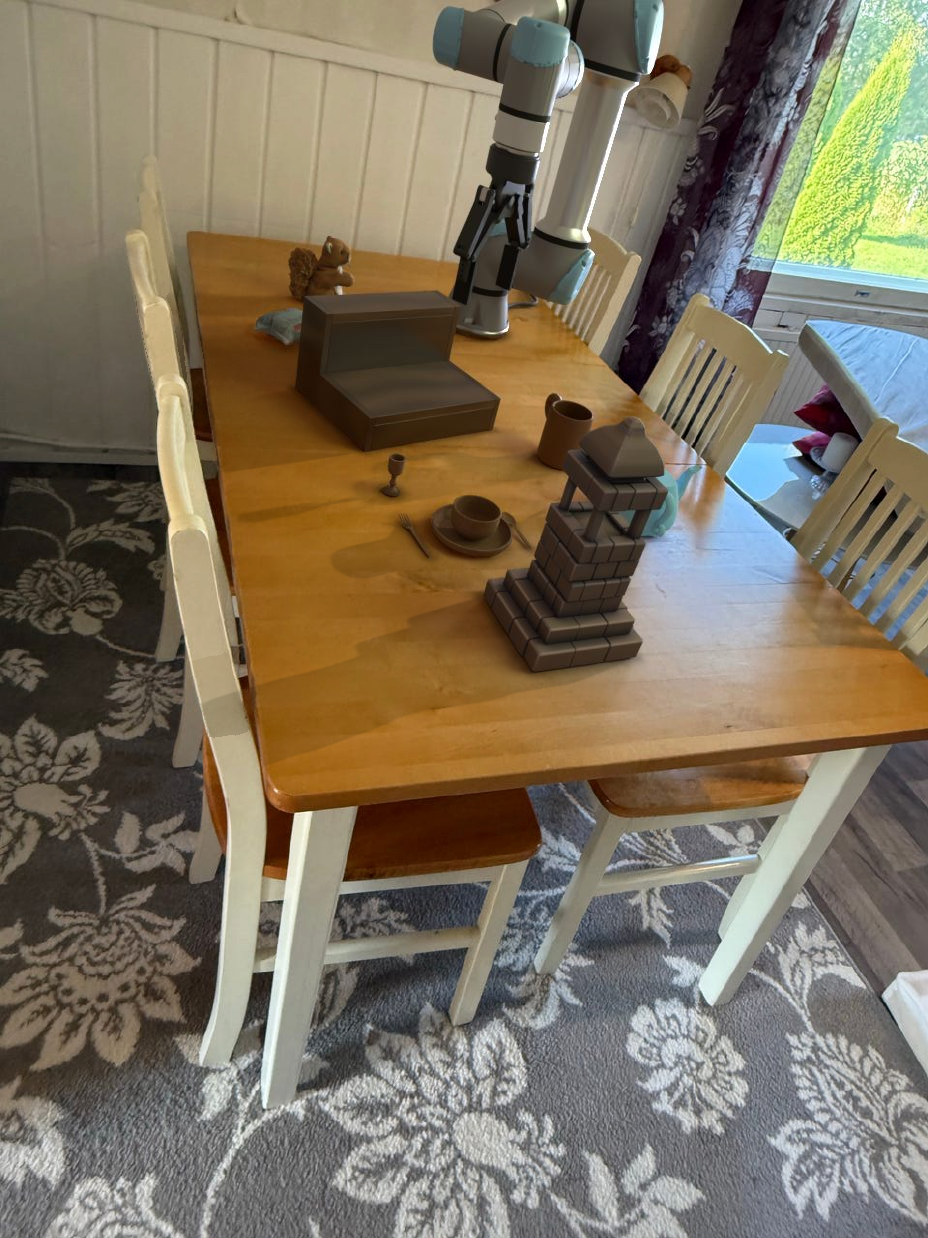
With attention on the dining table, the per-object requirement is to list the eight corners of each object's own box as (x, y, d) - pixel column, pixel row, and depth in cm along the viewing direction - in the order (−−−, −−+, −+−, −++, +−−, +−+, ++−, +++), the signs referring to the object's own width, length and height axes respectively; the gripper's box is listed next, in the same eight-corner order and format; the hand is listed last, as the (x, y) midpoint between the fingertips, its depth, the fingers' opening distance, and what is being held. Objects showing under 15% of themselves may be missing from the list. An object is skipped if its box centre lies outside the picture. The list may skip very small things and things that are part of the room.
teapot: (579, 525, 133) (601, 464, 125) (609, 487, 143) (631, 429, 136) (654, 560, 130) (681, 499, 123) (678, 518, 140) (705, 460, 133)
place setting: (432, 568, 115) (441, 532, 111) (375, 487, 127) (381, 453, 124) (539, 554, 123) (551, 520, 120) (476, 479, 136) (485, 447, 132)
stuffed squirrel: (348, 317, 176) (356, 252, 167) (279, 302, 174) (284, 235, 166) (353, 301, 183) (362, 237, 175) (288, 286, 182) (293, 221, 174)
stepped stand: (492, 429, 151) (515, 342, 141) (364, 451, 135) (379, 356, 125) (421, 373, 162) (437, 289, 152) (294, 388, 146) (303, 295, 136)
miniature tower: (531, 674, 103) (610, 455, 84) (481, 596, 112) (543, 385, 94) (639, 658, 110) (735, 453, 91) (584, 586, 119) (660, 388, 101)
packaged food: (329, 341, 164) (331, 316, 161) (285, 354, 156) (287, 328, 153) (295, 325, 167) (297, 300, 164) (251, 336, 159) (252, 310, 156)
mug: (518, 435, 151) (532, 386, 145) (556, 436, 154) (571, 387, 148) (546, 471, 143) (562, 420, 137) (585, 471, 146) (602, 421, 140)
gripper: (533, 137, 133) (500, 274, 146) (448, 143, 115) (420, 299, 128) (575, 152, 131) (538, 289, 144) (495, 161, 113) (461, 317, 126)
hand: (482, 294), depth 136 cm, fingers open, 13 cm apart
